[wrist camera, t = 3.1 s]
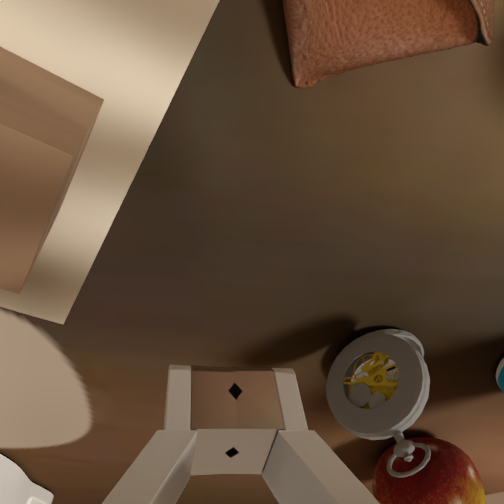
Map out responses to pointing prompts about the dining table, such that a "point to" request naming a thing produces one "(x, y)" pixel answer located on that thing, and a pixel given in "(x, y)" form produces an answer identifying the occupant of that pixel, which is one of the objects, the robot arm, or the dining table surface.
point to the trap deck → (99, 116)
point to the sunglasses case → (377, 32)
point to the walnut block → (36, 157)
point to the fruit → (429, 477)
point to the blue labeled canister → (500, 375)
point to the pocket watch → (381, 390)
